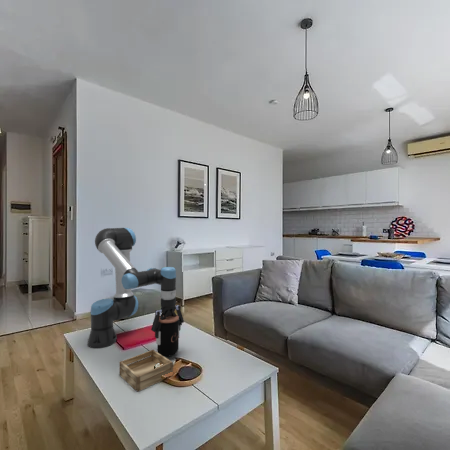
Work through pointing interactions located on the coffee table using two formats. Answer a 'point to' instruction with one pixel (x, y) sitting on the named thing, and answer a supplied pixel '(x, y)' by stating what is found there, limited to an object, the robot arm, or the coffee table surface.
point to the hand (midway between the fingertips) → (168, 340)
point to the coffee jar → (169, 336)
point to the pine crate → (144, 369)
